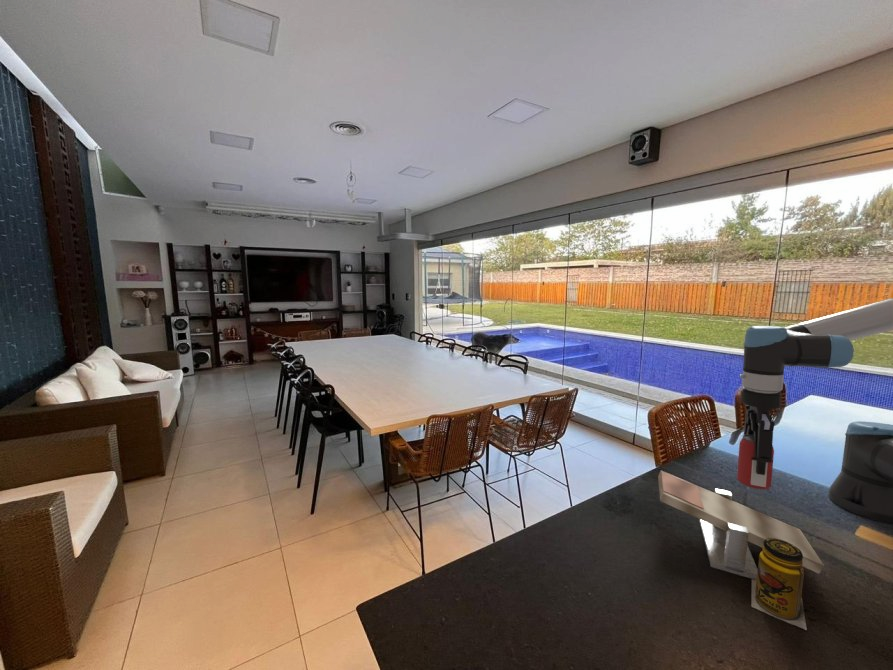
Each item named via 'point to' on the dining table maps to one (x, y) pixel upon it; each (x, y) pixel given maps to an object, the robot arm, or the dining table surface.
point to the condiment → (780, 582)
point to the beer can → (750, 463)
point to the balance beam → (733, 516)
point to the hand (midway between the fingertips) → (753, 478)
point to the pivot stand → (729, 546)
